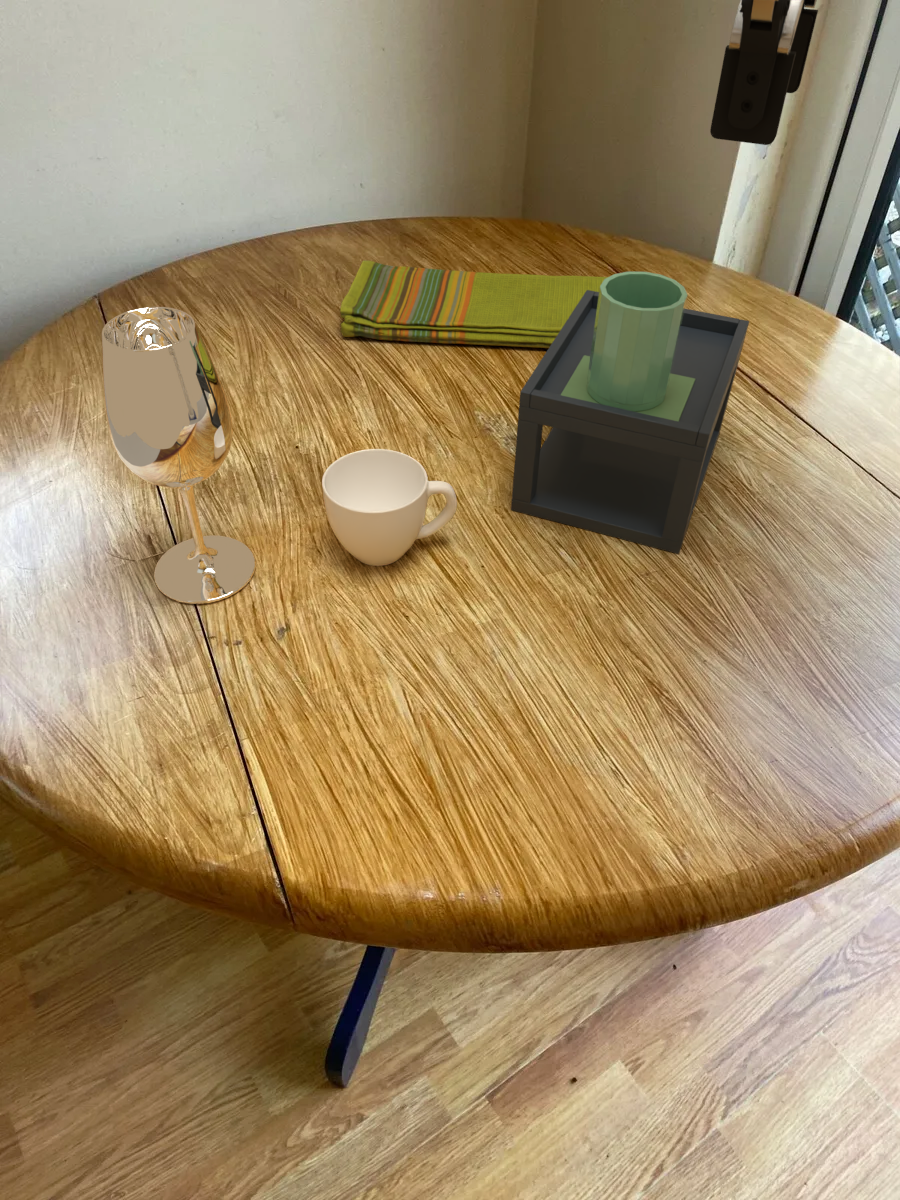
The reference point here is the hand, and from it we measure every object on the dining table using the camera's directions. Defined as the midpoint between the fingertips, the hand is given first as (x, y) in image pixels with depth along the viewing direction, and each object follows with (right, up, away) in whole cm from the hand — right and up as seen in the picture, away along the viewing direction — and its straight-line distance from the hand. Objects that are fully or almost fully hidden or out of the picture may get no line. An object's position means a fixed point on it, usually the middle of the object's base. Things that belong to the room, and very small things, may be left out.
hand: (756, 113), depth 49 cm
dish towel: (-10, +5, +50) cm, 51 cm away
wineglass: (-35, -24, +20) cm, 47 cm away
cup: (-21, -22, +22) cm, 38 cm away
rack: (-2, -15, +30) cm, 34 cm away
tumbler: (-3, -10, +20) cm, 23 cm away
